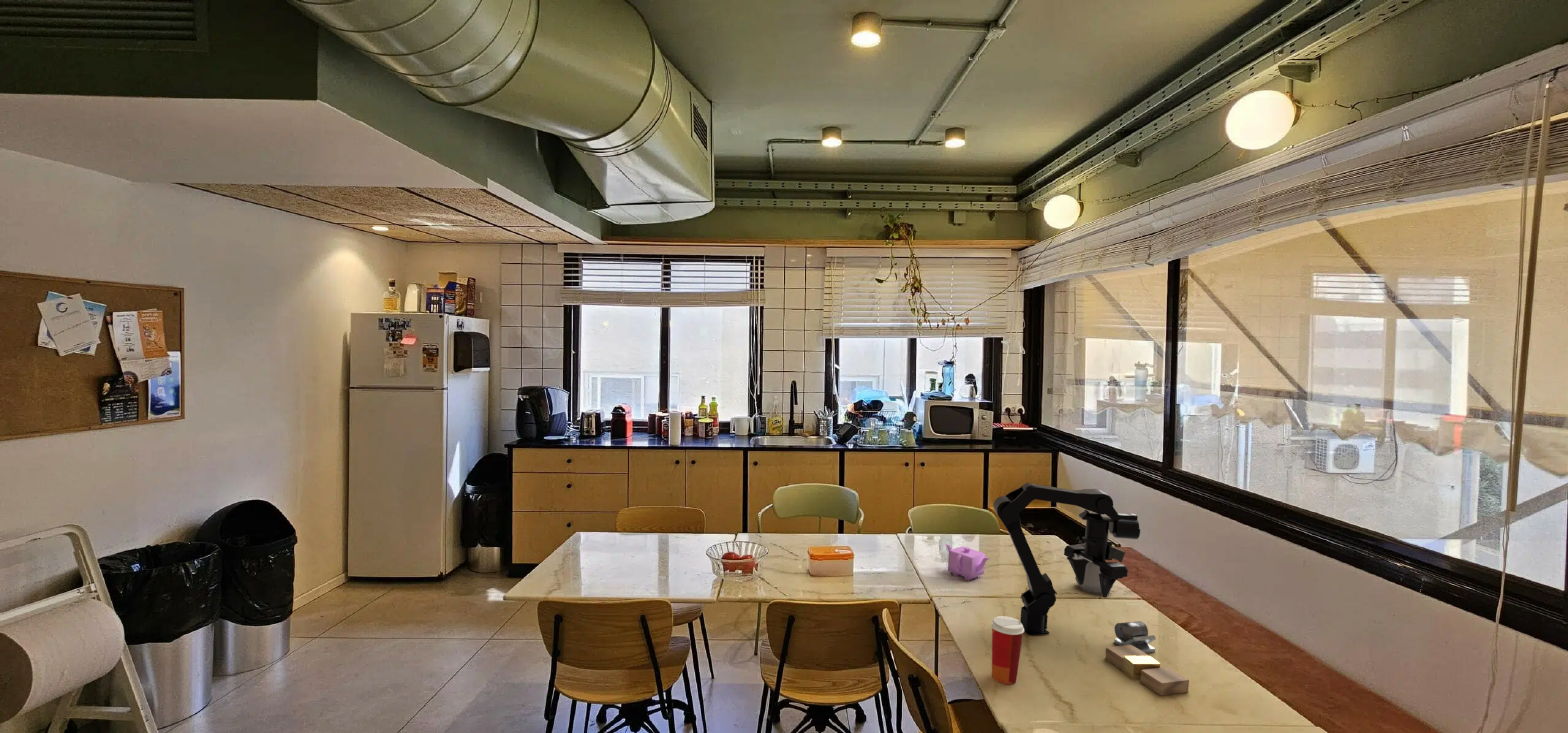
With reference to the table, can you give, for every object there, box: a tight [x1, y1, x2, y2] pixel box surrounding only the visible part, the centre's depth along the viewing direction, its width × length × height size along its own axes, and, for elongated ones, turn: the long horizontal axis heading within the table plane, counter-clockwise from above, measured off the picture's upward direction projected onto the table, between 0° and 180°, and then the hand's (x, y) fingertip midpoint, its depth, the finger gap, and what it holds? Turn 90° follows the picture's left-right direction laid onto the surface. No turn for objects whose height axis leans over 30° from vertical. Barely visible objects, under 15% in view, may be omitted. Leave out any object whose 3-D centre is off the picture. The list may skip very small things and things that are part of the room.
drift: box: [1122, 655, 1161, 680], centre depth 168 cm, size 7×4×4 cm, turn 95°
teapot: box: [944, 543, 992, 582], centre depth 232 cm, size 18×13×10 cm
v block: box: [1113, 635, 1156, 654], centre depth 183 cm, size 7×7×4 cm
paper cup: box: [990, 615, 1025, 685], centre depth 163 cm, size 8×8×14 cm
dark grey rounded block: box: [1114, 620, 1149, 641], centre depth 182 cm, size 7×4×4 cm, turn 106°
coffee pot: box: [1074, 562, 1102, 595], centre depth 221 cm, size 21×12×15 cm, turn 125°
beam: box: [1104, 645, 1190, 696], centre depth 168 cm, size 8×18×3 cm, turn 16°
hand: (1092, 590), depth 188 cm, fingers open, 9 cm apart
